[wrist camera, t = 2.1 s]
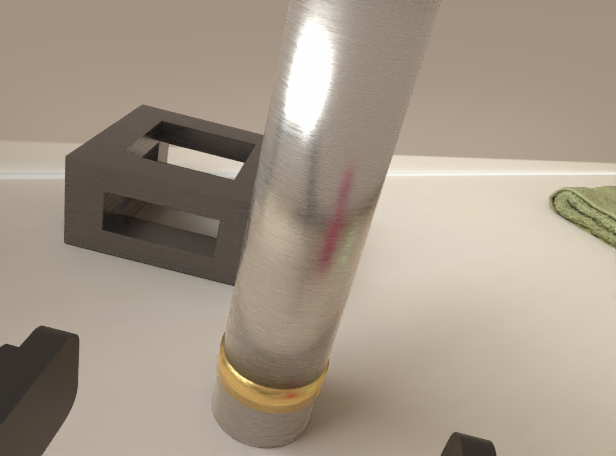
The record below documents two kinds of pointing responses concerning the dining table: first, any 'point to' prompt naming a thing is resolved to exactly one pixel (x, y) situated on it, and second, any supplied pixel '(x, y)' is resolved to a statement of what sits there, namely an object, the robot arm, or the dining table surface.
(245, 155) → the collar stand
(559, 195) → the washcloth
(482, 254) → the dining table surface
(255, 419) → the metal can
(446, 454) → the robot arm
